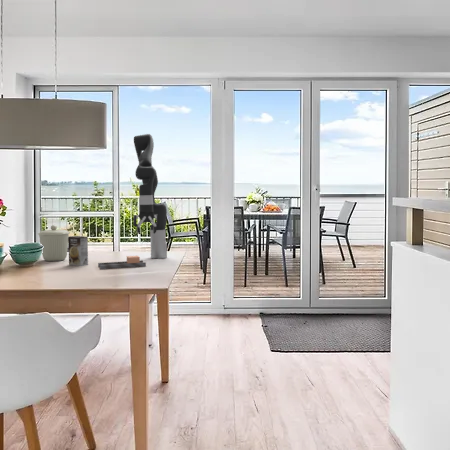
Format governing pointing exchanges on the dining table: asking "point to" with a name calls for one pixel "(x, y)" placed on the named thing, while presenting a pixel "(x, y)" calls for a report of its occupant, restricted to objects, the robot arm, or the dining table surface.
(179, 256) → the dining table surface
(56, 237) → the canister
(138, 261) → the block
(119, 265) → the chute
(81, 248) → the coffee box
